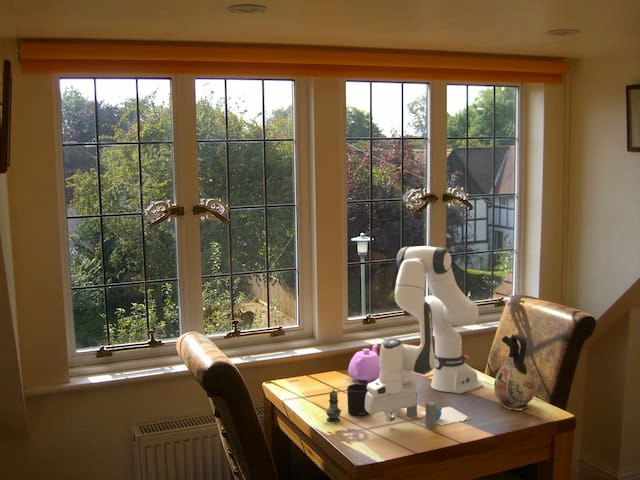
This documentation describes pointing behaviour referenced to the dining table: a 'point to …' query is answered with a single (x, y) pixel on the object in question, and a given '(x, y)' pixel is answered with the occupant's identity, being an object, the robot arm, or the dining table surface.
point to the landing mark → (449, 416)
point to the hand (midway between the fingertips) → (390, 421)
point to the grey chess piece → (333, 408)
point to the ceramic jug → (514, 376)
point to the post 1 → (412, 410)
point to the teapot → (365, 365)
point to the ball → (438, 412)
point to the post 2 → (430, 415)
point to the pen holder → (357, 400)
